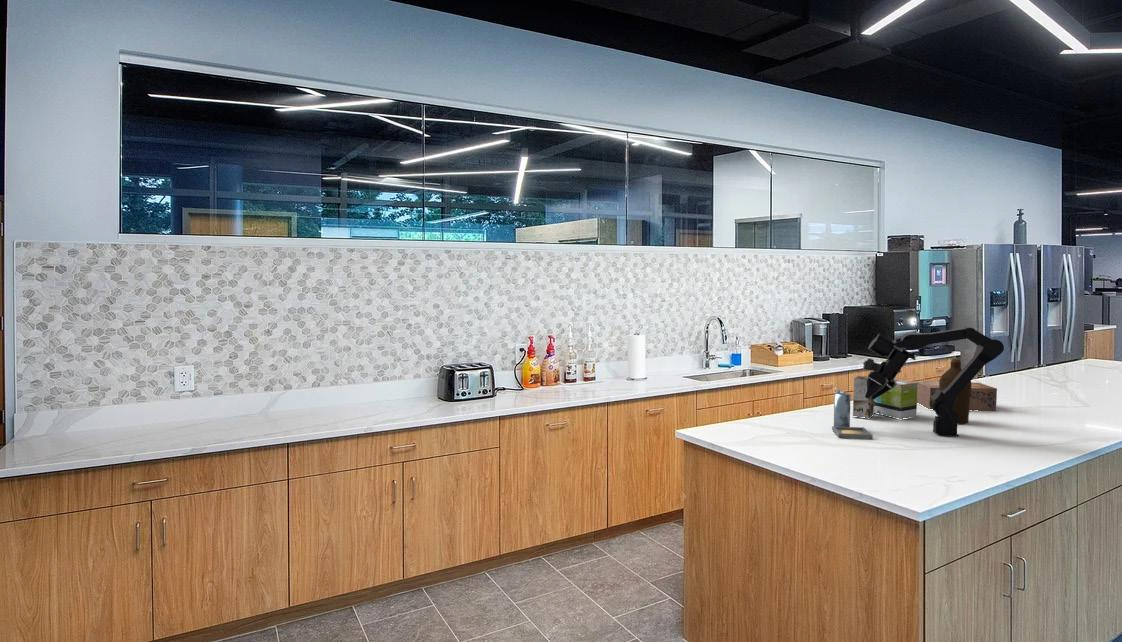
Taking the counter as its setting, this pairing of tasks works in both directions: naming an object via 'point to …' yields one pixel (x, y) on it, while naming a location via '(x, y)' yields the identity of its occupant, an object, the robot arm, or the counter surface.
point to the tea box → (898, 400)
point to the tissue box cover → (979, 398)
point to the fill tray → (852, 432)
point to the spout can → (841, 409)
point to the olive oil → (964, 397)
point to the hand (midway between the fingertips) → (869, 398)
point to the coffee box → (862, 398)
